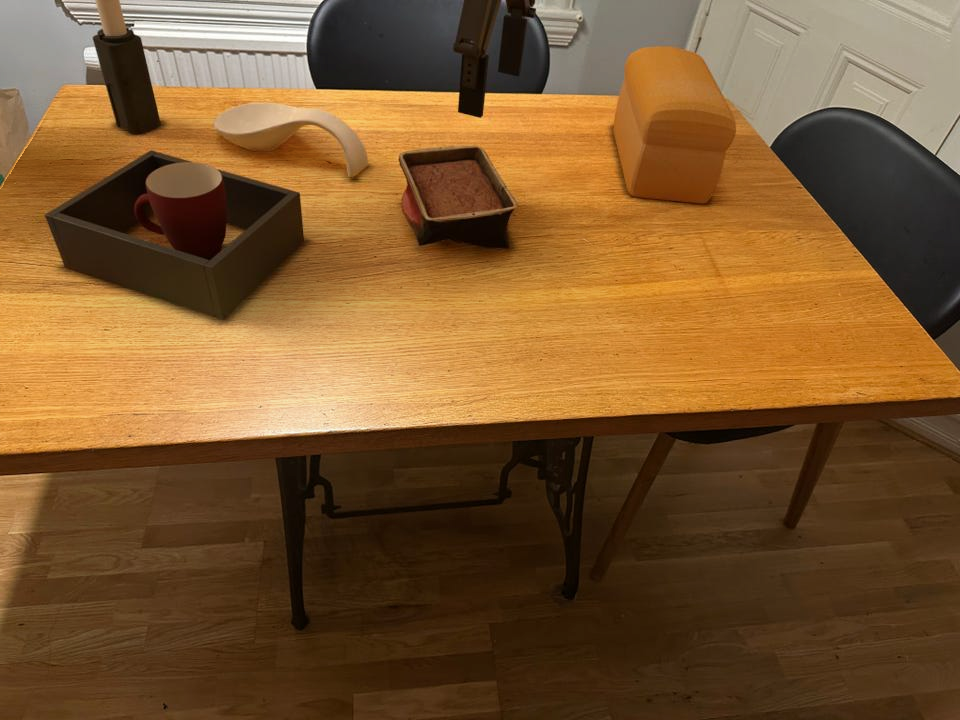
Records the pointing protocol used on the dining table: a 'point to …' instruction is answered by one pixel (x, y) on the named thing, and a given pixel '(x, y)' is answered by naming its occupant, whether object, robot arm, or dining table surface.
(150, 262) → the dark rectangular frame
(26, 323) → the dining table surface
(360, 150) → the spoon rest
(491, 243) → the baking dish
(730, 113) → the bread
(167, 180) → the mug
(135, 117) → the candle
